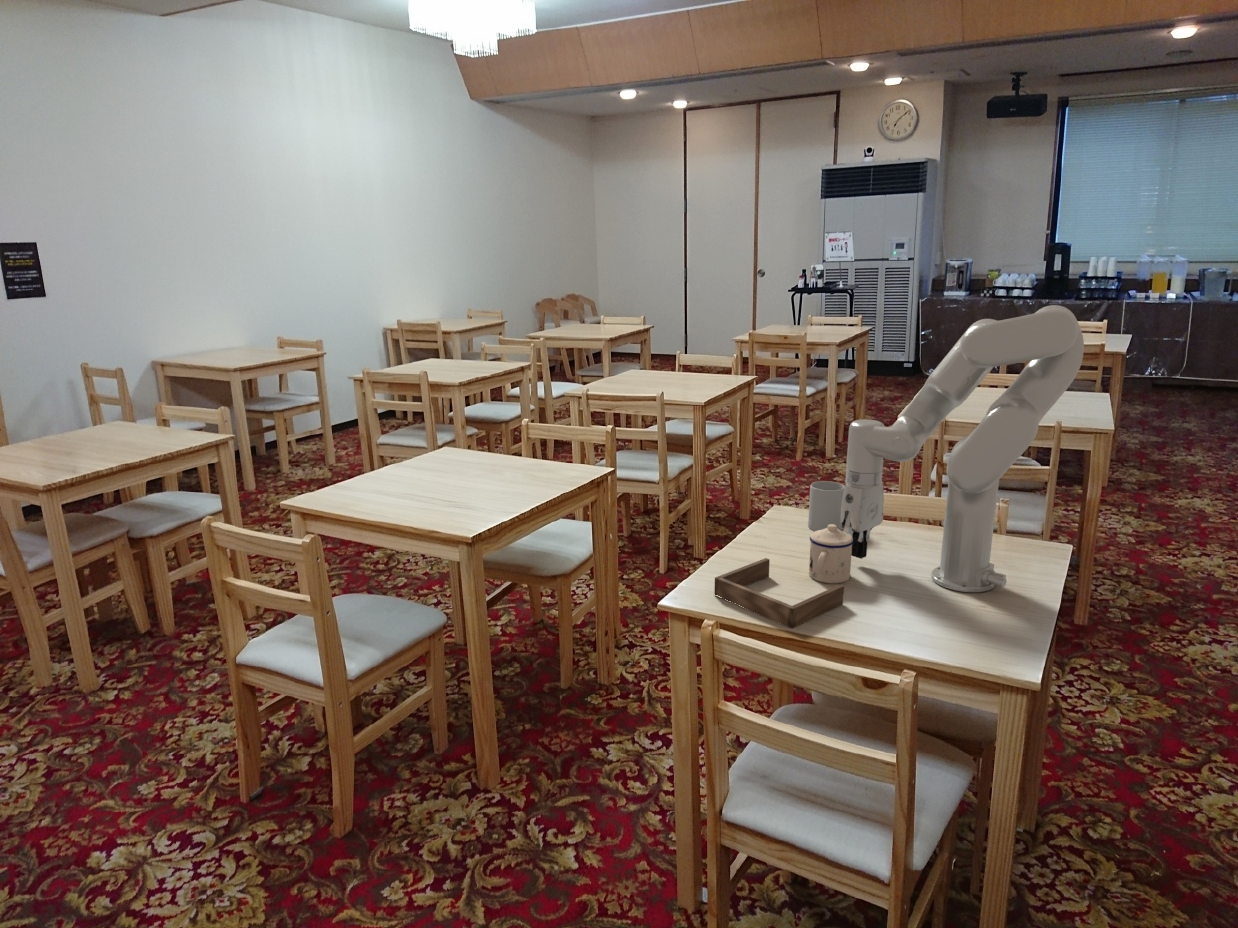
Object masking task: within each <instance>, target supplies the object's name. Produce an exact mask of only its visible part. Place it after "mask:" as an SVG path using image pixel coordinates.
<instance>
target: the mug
mask: <svg viewBox="0 0 1238 928" xmlns="http://www.w3.org/2000/svg"><path fill="white" fill-rule="evenodd" d="M809 487H810V488H809V504H808V505H809V507H808V508H809V509H808V521H807V526H808V528H809V529H810V530H811V531H812V532H815V531H818V530H823V529H825V528H827V526H828V525H829V524H834V525H836V526H837V529H839V530H841V531H843V530H844V528H843V527H842V526H841V507H842V500H843V494H844V489H845V485H844V484H842V483H840V482H838V481H837V482H835V481H830V480H829V481H827V480H819V481H815V482H812V483H811V484H810V485H809Z"/></svg>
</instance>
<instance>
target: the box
mask: <svg viewBox="0 0 1238 928" xmlns="http://www.w3.org/2000/svg"><path fill="white" fill-rule="evenodd" d="M766 577H767V578H769V577H770V558H767V557H765V558H762V559H760V560H757V561H754V562H752V563H749V564H747V565H744V566H741V567H739V568H736V569H734V570H732V571H728V572H727V573H723V574H721V575H719V576H716V577H714V594H715V595H718V596H720V597H722V598H724V599H726V600H728V601H731V602H733V603H736V604H738V605H740V606H742V607H744V608H743V609H745V608H746V609H745V610H747V609H748V610H747V611H749V610H750V611H749V612H752V613H754V612H755V614H756V613H757V615H759V616H762V617H763V616H764V617H763V618H767V619H768V620H771V619H772V620H771V621H773V620H774V622H775V621H776V623H778V622H779V623H778V624H780V623H781V624H780V625H782V624H783V626H785V625H786V626H785V627H787V626H788V627H787V628H789V627H790V629H794V627H795V628H797V627H799V626H801V625H803V624H805V623H807V622H809V621H811V620H813V619H816V618H818V617H820V616H821V615H824V614H826V613H828V612H830V611H832V610H835V609H837V608H839V607H840V606H843V605H844V594H845V593H844V592H845V591H844V590H845V585H842V584H837V585H835V586H833V587H831V588H829V589H826V590H825V591H822V592H820V593H817V594H816V595H814V596H811V597H809V598H807V599H805V600H803V601H800V602H798V603H795V604H793V605H791V604H789V603H787V602H784V601H781V600H779V599H776V598H774V597H770V596H769V595H766V594H763V593H761V592H758V591H756V590H754V589H751V588H748V587H747V586H749V585H751V584H752V585H753V584H754V583H757V582H759V581H761V580H764V579H767V578H766ZM744 586H745V587H744ZM714 594H713V595H714ZM726 600H725V601H726ZM728 601H727V602H728ZM733 603H732V604H733ZM738 605H737V606H738ZM740 606H739V607H740ZM742 607H741V608H742ZM804 622H805V623H804ZM800 624H801V625H800ZM798 625H799V626H798ZM796 626H797V627H796Z"/></svg>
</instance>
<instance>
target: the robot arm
mask: <svg viewBox="0 0 1238 928" xmlns="http://www.w3.org/2000/svg"><path fill="white" fill-rule="evenodd" d="M1084 343H1085V339H1084V335H1083V332H1082V329H1081V326H1080V323H1079V321H1078V319H1077V317H1076V316H1075V314H1074V313H1073V312H1072V310H1070V309H1068V308H1067V307H1065V306H1062V305H1055V304H1053V305H1047V306H1043V307H1042V308H1040V309H1038V310H1037V311H1036V312H1034V313H1029V314H1026V315H1021V316H1017V317H1012V318H1006V319H1002V320H997V319H993V318H983V319H982V318H981V319H980V320H977V321H975V322H973V323H972V324H971V325H970V326H969V327H968V328H967V329H966V331H965V332H964V333H963V334H962V335H961V337H960V338H959V339H958V340H957V342H956V343H955V344H954V345H953V346H952V348H951V349H950V350H949V352H948V353H947V354H946V355H945V356H944V358H943V359H942V360H941V361H940V363H939V364H937V366H936V368H934V369H933V371H932V372H931V374H930V375H928V378H927V379H926V381H925V382H924V384H923V387H922V388H921V389H920V391H919V393H918V394H917V395H916V396H915V398H914V399H912V401H911V402H910V404H909V405H908V406H907V407H906V409H905V410H904V411H903V412H902V413H901V415H900V416H899V417H898V418H897V420H895V422H894V423H893V424H892V425H891V426H886V425H884V423H883V422H881V421H878V420H876V419H875V420H874V419H866V418H865V419H856V420H853V421H852V422H850V425H849V427H848V437H847V453H846V454H847V455H846V466H845V470H846V471H845V481H844V482H845V485H844V486H845V489H844V494H843V500H842V507H841V526H842V527H843V532H846V533H848V534H850V535H851V536H852V538H853V544H852V553H851V557H855V558H857V559H862V560H863V558H866V557H867V555H868V554H867V553H868V540H869V539H870V535H871V531H872V529H873V528H875V527H878V526H880V525H881V524H882V523H883V521H884V511H885V510H884V509H885V508H884V507H885V506H884V505H885V501H884V500H885V499H884V498H885V497H884V496H885V495H884V493H885V492H884V485H883V481H882V479H883V469H884V468H883V467H884V466H883V465H884V459H885V460H890V461H893V462H898V463H900V462H901V463H904V462H905V463H906V462H909V461H911V460H913V459H914V458H915V457H917V455H918V454H919V453H920V451H921V449H922V447H923V445H924V443H925V442H926V441H927V440H928V438H929V437H930V436H931V435H932V434H933V432H934V431H936V429H937V428H938V426H939V425H940V424H941V423H942V422H943V420H945V418H946V417H948V416H949V414H950V413H951V412H952V411H954V410H955V409H956V408H958V407H960V406H961V405H963V403H964V402H965V401H966V400H967V399H968V398H969V397H970V396H971V394H972V393H973V392H974V391H975V390H976V389H977V387H978V386H979V385H980V384H981V382H982V381H983V380H984V379H985V378H986V376H988V374H989V373H990V372H991V371H992V370H993V369H994V367H1001V366H1009V365H1014V364H1019V363H1026V362H1028V363H1027V364H1026V366H1025V367H1024V368H1023V369H1022V370H1021V372H1020V373H1019V375H1018V376H1017V377H1016V378H1015V379H1014V381H1012V382H1011V384H1010V385H1009V386H1008V387H1007V388H1006V390H1004V392H1003V393H1002V394H1001V395H1000V396H999V397H998V398H997V399H996V400H995V401H993V403H991V405H990V406H989V407H988V410H987V411H986V414H985V416H984V417H983V418H982V420H981V421H980V422H979V423H978V425H976V427H975V428H974V429H973V431H971V433H970V434H969V435H966V436H964V437H962V438H960V439H959V440H958V441H957V442H956V443H955V444H954V446H953V447H952V450H951V451H950V454H949V458H948V460H947V463H946V476H947V478H948V485H947V492H946V493H947V494H946V502H945V503H946V505H945V511H944V512H945V513H944V521H943V534H942V542H941V543H942V544H941V553H940V564H939V566H937V567H935V568H933V569H932V571H931V579H932V581H934V583H935V584H937V585H939V586H941V587H943V588H946V589H948V590H952V591H956V592H957V591H958V592H963V593H983V592H988V591H991V590H993V588H995V587H996V586H997V587H999V588H1000V587H1001V588H1005V587H1006V585H1007V579H1006V578H1007V575H1006V574H1004V573H999V572H996V571H995V564H994V563H991V562H990V561H991V552H992V545H993V535H994V527H995V517H996V509H997V500H998V493H999V492H998V491H999V485H1000V478H1002V477H1003V475H1004V474H1005V473H1006V472H1007V471H1008V470H1009V469H1010V468H1012V466H1013V464H1014V463H1016V461H1018V459H1019V458H1020V457H1021V456H1022V455H1023V454H1024V452H1025V451H1026V450H1027V449H1028V448H1029V447H1030V445H1031V444H1032V443H1033V441H1034V440H1035V438H1036V437H1037V434H1038V432H1039V424H1040V422H1041V421H1042V419H1043V418H1044V417H1045V415H1046V414H1048V412H1049V411H1050V410H1051V409H1052V408H1053V407H1054V405H1055V404H1056V403H1057V402H1058V400H1059V399H1060V398H1061V397H1062V396H1063V394H1064V393H1065V392H1066V391H1067V389H1068V388H1069V387H1070V386H1071V384H1072V383H1073V382H1074V380H1075V379H1076V377H1077V375H1078V372H1079V371H1080V369H1081V366H1082V363H1083V360H1084V359H1083V358H1084V351H1085V344H1084Z"/></svg>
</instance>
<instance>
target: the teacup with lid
mask: <svg viewBox="0 0 1238 928" xmlns="http://www.w3.org/2000/svg"><path fill="white" fill-rule="evenodd" d="M809 541H810V545H809V546H810V548H809V563H808V565H809V569H808V575H809V577H810V578H812V579H813V580H815V581H816V582H820V583H825V584H841V583H842V584H843V583H845V582H847V581H848V580H850V578H851V565H852V556H851V553H852V544H853V538H852V536H851V535H850V534H848V533H846V532H844V530H839V529H837V526H836V525H834V524H829V525H828V526H827V528H825V529H823V530H818V531H812V533H811V534H810V536H809Z"/></svg>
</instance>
